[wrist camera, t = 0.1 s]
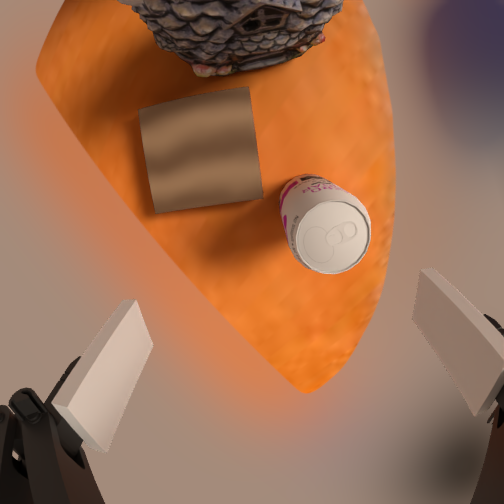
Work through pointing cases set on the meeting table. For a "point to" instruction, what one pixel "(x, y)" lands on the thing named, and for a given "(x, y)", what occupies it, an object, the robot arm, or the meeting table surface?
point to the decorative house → (235, 30)
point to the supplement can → (324, 224)
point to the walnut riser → (201, 150)
